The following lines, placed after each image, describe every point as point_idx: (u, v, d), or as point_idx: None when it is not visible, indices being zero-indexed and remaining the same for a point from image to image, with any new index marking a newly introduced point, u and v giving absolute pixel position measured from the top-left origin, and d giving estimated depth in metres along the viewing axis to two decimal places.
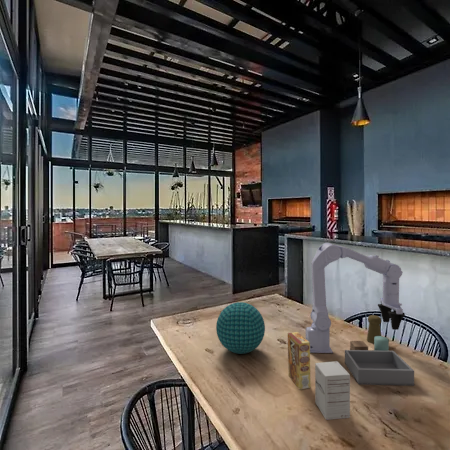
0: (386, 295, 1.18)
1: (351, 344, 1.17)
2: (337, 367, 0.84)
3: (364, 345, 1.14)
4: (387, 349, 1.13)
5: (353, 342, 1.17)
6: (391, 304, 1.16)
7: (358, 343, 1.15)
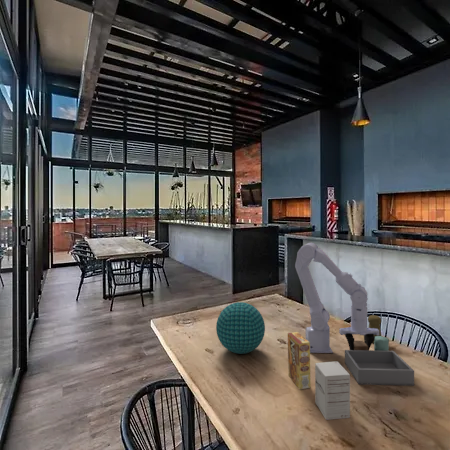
0: None
1: None
2: (337, 367, 0.84)
3: (364, 345, 1.14)
4: (387, 349, 1.13)
5: (354, 341, 1.17)
6: (351, 327, 1.16)
7: (358, 343, 1.15)
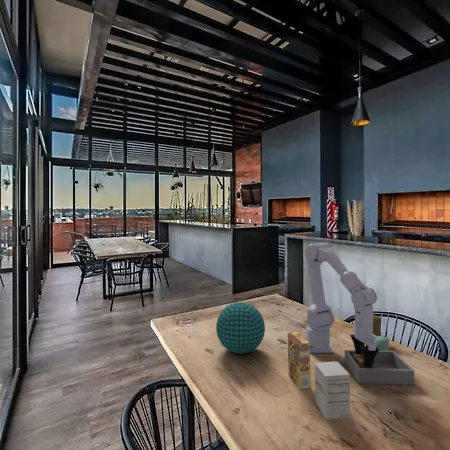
0: (358, 326, 1.01)
1: (363, 363, 1.01)
2: (337, 367, 0.84)
3: None
4: (387, 349, 1.13)
5: (361, 359, 1.02)
6: (363, 337, 1.00)
7: None
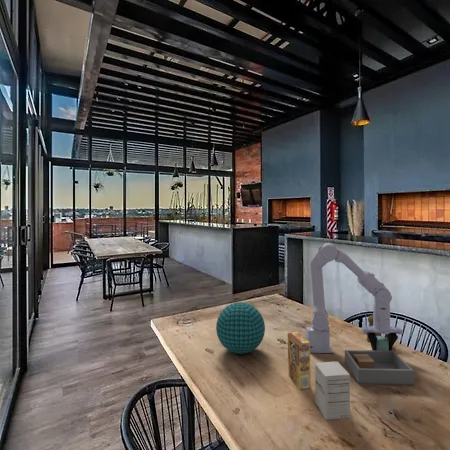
0: None
1: (363, 363, 1.01)
2: (337, 367, 0.84)
3: (366, 355, 1.04)
4: (387, 349, 1.13)
5: (361, 359, 1.02)
6: (373, 326, 1.16)
7: (363, 358, 1.03)
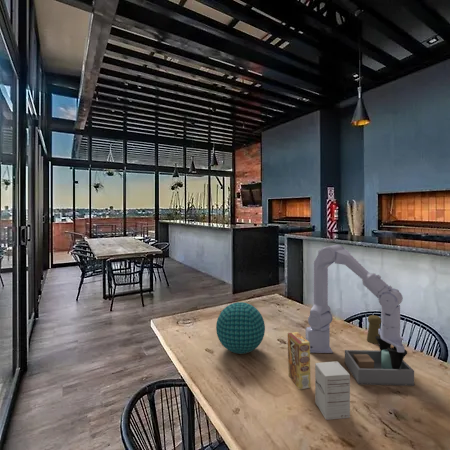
0: (385, 328, 1.01)
1: (363, 363, 1.01)
2: (337, 367, 0.84)
3: (366, 355, 1.04)
4: None
5: (361, 359, 1.02)
6: (391, 339, 0.99)
7: (363, 358, 1.03)
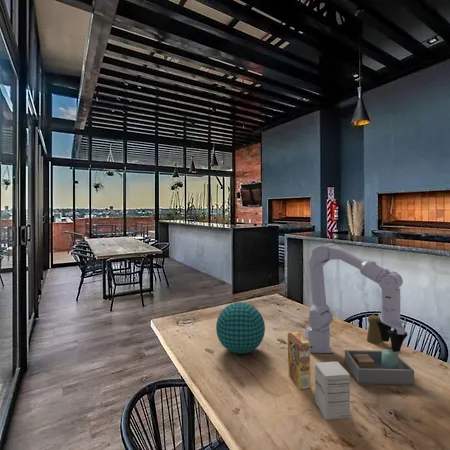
0: (385, 311, 1.00)
1: (363, 363, 1.01)
2: (337, 367, 0.84)
3: (366, 355, 1.04)
4: None
5: (361, 359, 1.02)
6: (391, 322, 0.99)
7: (363, 358, 1.03)
